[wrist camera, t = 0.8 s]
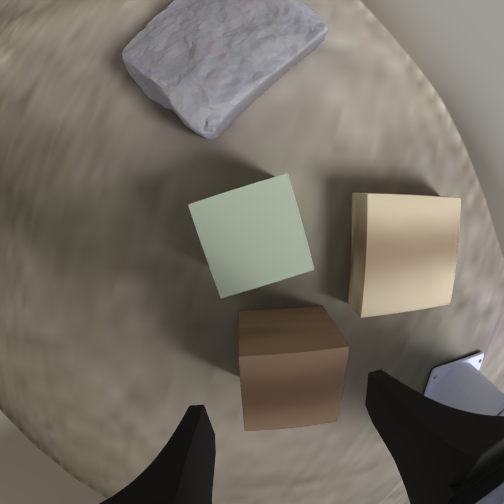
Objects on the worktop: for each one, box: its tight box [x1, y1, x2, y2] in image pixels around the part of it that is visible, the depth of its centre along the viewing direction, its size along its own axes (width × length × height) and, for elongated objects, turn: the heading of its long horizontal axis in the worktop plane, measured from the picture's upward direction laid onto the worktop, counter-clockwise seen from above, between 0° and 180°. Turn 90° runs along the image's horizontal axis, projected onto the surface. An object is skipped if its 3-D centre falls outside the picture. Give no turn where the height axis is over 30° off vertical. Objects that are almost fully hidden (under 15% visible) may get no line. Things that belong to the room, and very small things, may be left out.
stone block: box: [122, 0, 328, 140], centre depth 15 cm, size 12×5×10 cm
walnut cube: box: [239, 306, 349, 431], centre depth 18 cm, size 6×6×6 cm
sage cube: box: [188, 173, 315, 298], centre depth 17 cm, size 5×5×5 cm
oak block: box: [348, 193, 461, 318], centre depth 19 cm, size 8×8×3 cm
